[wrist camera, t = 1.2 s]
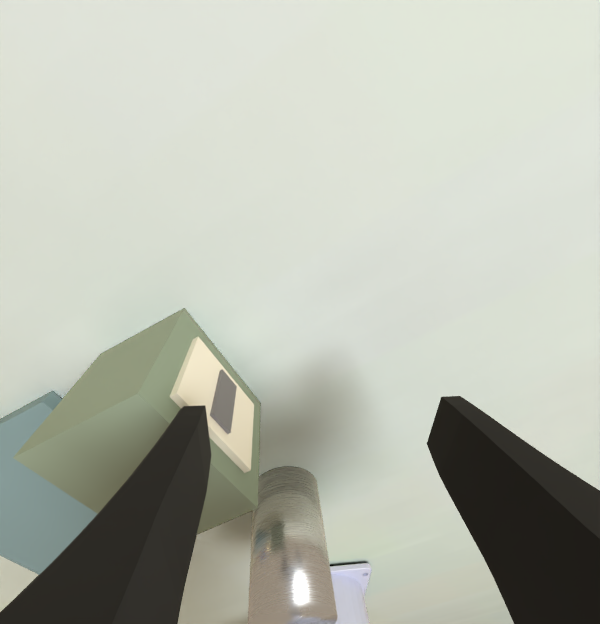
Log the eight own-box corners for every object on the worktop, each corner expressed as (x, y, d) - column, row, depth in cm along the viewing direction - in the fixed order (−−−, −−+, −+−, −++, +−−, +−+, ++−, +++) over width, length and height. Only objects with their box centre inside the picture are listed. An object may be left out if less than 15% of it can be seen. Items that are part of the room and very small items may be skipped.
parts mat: (57, 567, 23) (50, 580, 22) (-112, 479, 18) (-128, 492, 17) (193, 506, 21) (190, 518, 21) (52, 390, 16) (42, 401, 15)
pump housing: (187, 437, 18) (155, 552, 13) (100, 354, 15) (12, 457, 10) (267, 399, 18) (267, 504, 12) (192, 303, 15) (150, 387, 9)
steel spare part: (315, 505, 23) (333, 638, 16) (254, 510, 22) (249, 648, 16) (319, 464, 21) (341, 597, 14) (252, 468, 20) (246, 607, 14)
